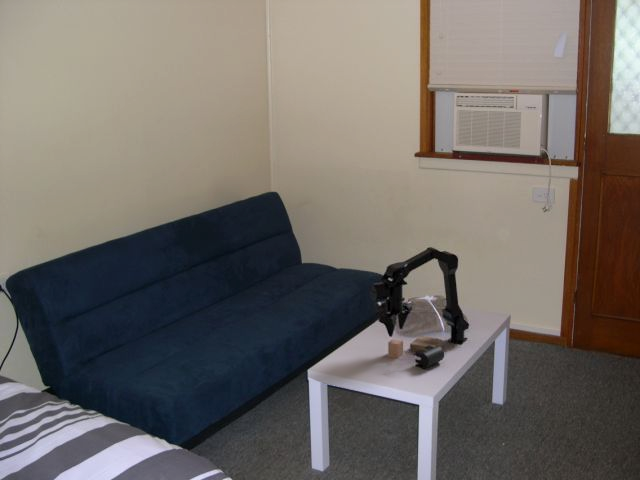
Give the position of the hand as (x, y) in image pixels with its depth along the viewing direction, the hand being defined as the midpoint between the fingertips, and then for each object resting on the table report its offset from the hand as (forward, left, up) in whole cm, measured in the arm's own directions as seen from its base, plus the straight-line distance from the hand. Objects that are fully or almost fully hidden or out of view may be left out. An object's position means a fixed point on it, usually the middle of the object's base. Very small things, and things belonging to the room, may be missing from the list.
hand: (395, 332), depth 308 cm
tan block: (-12, +8, -10) cm, 17 cm away
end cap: (+2, +16, -10) cm, 19 cm away
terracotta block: (0, 0, -10) cm, 10 cm away
